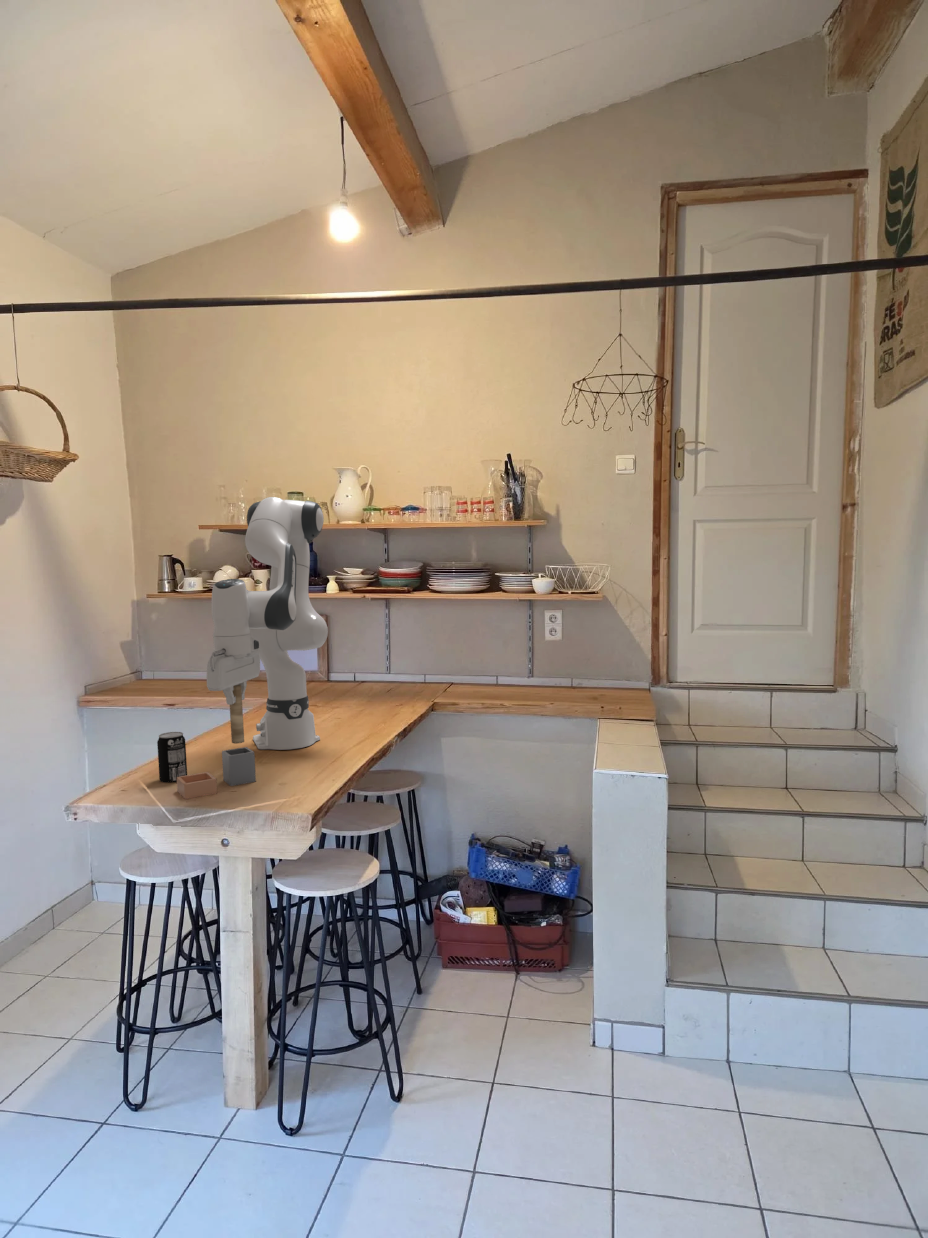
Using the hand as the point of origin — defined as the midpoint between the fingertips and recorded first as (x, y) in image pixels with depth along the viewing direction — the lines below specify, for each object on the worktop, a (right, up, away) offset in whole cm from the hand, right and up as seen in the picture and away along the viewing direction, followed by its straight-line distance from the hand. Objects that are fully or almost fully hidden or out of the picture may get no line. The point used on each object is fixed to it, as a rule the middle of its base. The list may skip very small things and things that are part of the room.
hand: (235, 702), depth 194 cm
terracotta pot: (-7, -21, -7) cm, 23 cm away
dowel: (0, -10, +1) cm, 10 cm away
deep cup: (0, -20, +2) cm, 20 cm away
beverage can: (-17, -21, +5) cm, 27 cm away
